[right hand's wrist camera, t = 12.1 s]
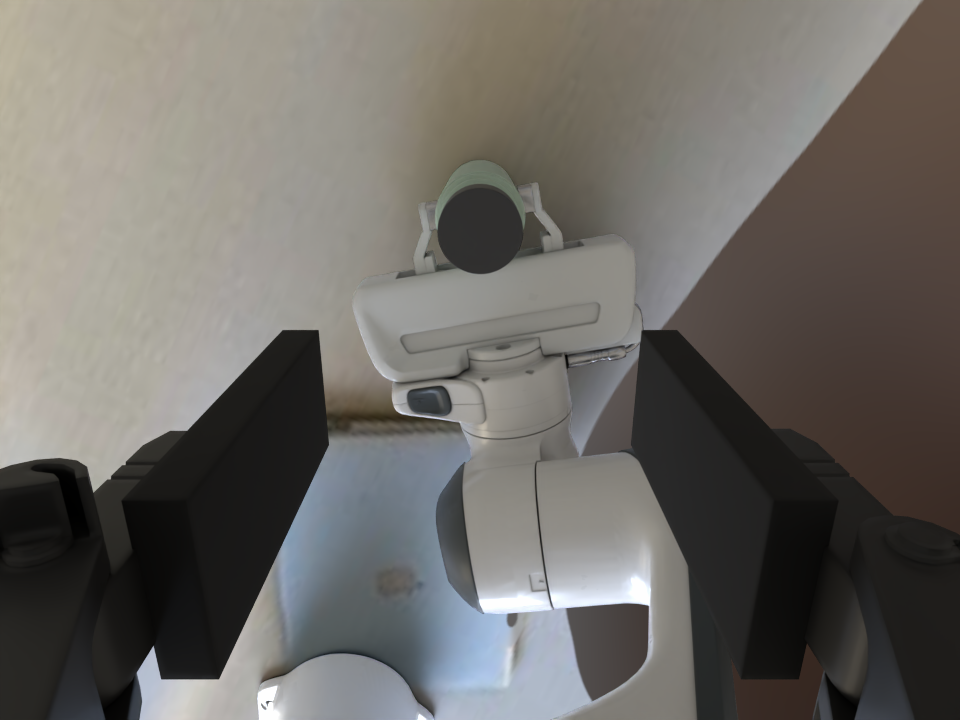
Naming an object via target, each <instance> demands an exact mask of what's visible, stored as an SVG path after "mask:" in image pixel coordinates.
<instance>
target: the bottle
mask: <svg viewBox="0 0 960 720" xmlns="http://www.w3.org/2000/svg"><path fill="white" fill-rule="evenodd" d="M473 184H488V185H492V186H495V187H497V188H499V189H501V190H502V191H504V192H505V193H506V194H507V195H508V196H509V197H510V198H511V199H512V200H513V202H514V203H515V205H516V207H517V209H518V212H519V214H520V216H521V220H522V224H523V230H524V226H525V208H524V204H523V201H522V198H521V196H520V194H519V192H518V191H517V189H516V187H515V185H514V183H513V182H512V180H511V178H510V176H509V175H508V174H507V172H506V171H505V170H504V169H503V168H502V167H500V166H499V165H497V164H495V163H493V162H491V161H487V160H474V161H470V162H467V163H465V164H463V165H461V166H460V167H459V168H457V169H456V170H455V171H454V173H453V174H452V175H451V177H450V178H449V180H448V182H447V184H446V186H445V188H444V189H443V191H442V193H441V195H440V197H439V199H438V202H437V205H436V210H435V223H436V228H437V229H438V222H439V218H440V215H441V213H442V210H443V208H444V206H445V204H446V202H447V201H448V200H449V198H450V197H451V196H452V195H453V194H454V193H455V192H457V191H458V190H460V189H461V188H464V187H466V186H469V185H473Z"/></svg>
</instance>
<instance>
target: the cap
mask: <svg viewBox="0 0 960 720" xmlns="http://www.w3.org/2000/svg"><path fill="white" fill-rule="evenodd" d="M437 233H438V241H439V244H440V247H441V249H442V252H443V253H444V255H445V256H446V258H447V259H448V260H449V261H450V262H451V263H452V264H453V265H454V266H456V267H457V268H459V269H461V270H463V271H465V272H468V273H472V274H488V273H492V272H495V271H498V270H500V269H502V268H503V267H505V266H506V265H507V264H509V263H510V262H511V261H512V260H513V258H514V257H515V256H516V254H517V252H518V251H519V248H520V246H521V243H522V238H523V224H522V220H521V216H520V214H519V212H518V209H517V207H516V205H515V203H514V202H513V200H512V199H511V198H510V197H509V196H508V195H507V194H506V193H505V192H504V191H502V190H501V189H499V188H497V187H495V186H492V185H488V184H473V185H469V186H466V187H464V188H461V189H460V190H458V191H457V192H455V193H454V194H453V195H452V196H451V197H450V198H449V200H448V201H447V202H446V204H445V206H444V208H443V210H442V213H441V215H440V218H439V222H438V229H437Z"/></svg>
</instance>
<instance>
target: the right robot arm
mask: <svg viewBox="0 0 960 720" xmlns="http://www.w3.org/2000/svg"><path fill="white" fill-rule="evenodd" d="M328 446H329V440H328V429H327V418H326V407H325V396H324V385H323V374H322V363H321V352H320V341H319V330H283V331H282V332H281V333H280V334H279V335H278V336H277V337H276V338H275V339H274V340H273V341H272V342H271V343H270V344H269V345H268V346H267V347H266V349H265V350H264V351H263V352H262V353H261V354H260V355H259V356H258V357H257V358H256V359H255V360H254V361H253V362H252V363H251V364H250V365H249V366H248V367H247V369H246V370H245V371H244V372H243V373H242V374H241V375H240V376H239V377H238V378H237V379H236V380H235V381H234V382H233V383H232V384H231V385H230V386H229V387H228V389H227V390H226V391H225V392H224V393H223V394H222V395H221V396H220V397H219V398H218V399H217V400H216V401H215V402H214V403H213V404H212V405H211V406H210V407H209V409H208V410H207V411H206V412H205V413H204V414H203V415H202V416H201V417H200V418H199V419H198V420H197V421H196V422H195V423H194V424H193V425H192V426H191V428H190V429H189V430H188V431H169V432H167V433H166V434H164V435H162V436H160V437H158V438H156V439H154V440H152V441H150V442H148V443H147V444H145V445H143V446H142V447H141V448H140V449H139V450H138V451H137V452H136V453H135V454H134V455H133V456H132V457H130V458H129V459H128V460H127V461H126V465H122V466H121V467H120V468H119V469H118V470H117V471H116V472H115V473H114V474H113V475H112V476H111V480H106V481H105V482H104V483H103V484H102V485H101V486H100V487H99V488H98V489H97V490H96V491H95V492H94V493H93V490H92V486H91V481H90V477H89V473H88V469H87V467H86V466H85V465H83V464H82V463H80V462H78V461H76V460H69V459H62V458H55V459H40V460H33V461H29V462H24V463H19V464H15V465H10V466H8V467H5V468H2V469H0V720H139V718H140V712H141V705H142V697H141V690H140V685H139V681H138V677H137V671H138V670H139V668H140V666H141V665H142V663H143V662H144V660H145V658H146V657H147V655H148V654H149V652H150V650H151V649H152V647H153V646H154V649H155V653H156V658H157V662H158V667H159V671H160V676H161V679H219V678H220V676H221V674H222V672H223V670H224V667H225V665H226V663H227V661H228V659H229V657H230V655H231V652H232V650H233V648H234V646H235V644H236V642H237V640H238V638H239V635H240V633H241V631H242V629H243V627H244V625H245V623H246V620H247V618H248V616H249V614H250V612H251V610H252V608H253V606H254V603H255V601H256V599H257V597H258V595H259V593H260V591H261V588H262V586H263V584H264V582H265V580H266V578H267V576H268V574H269V571H270V569H271V567H272V565H273V563H274V561H275V559H276V557H277V554H278V552H279V550H280V548H281V546H282V544H283V542H284V539H285V537H286V535H287V533H288V531H289V529H290V527H291V525H292V522H293V520H294V518H295V516H296V514H297V512H298V510H299V507H300V505H301V503H302V501H303V499H304V497H305V495H306V493H307V490H308V488H309V486H310V484H311V482H312V480H313V478H314V475H315V473H316V471H317V469H318V467H319V465H320V463H321V461H322V458H323V456H324V454H325V452H326V450H327V448H328ZM631 446H632V448H633V450H634V452H635V454H636V456H637V458H638V461H639V463H640V465H641V467H642V469H643V471H644V473H645V475H646V478H647V480H648V482H649V484H650V486H651V488H652V490H653V493H654V495H655V497H656V499H657V501H658V503H659V505H660V507H661V510H662V512H663V514H664V516H665V518H666V520H667V522H668V525H669V527H670V529H671V531H672V533H673V535H674V537H675V539H676V542H677V544H678V546H679V548H680V550H681V552H682V554H683V557H684V559H685V561H686V563H687V565H688V567H689V569H690V571H691V574H692V576H693V578H694V580H695V582H696V584H697V586H698V588H699V591H700V593H701V595H702V597H703V599H704V601H705V603H706V606H707V608H708V610H709V612H710V614H711V616H712V618H713V620H714V623H715V625H716V627H717V629H718V631H719V633H720V635H721V638H722V640H723V642H724V644H725V646H726V648H727V650H728V652H729V655H730V657H731V659H732V661H733V663H734V665H735V667H736V669H737V671H738V674H739V676H740V678H741V679H799V676H800V671H801V667H802V662H803V658H804V653H805V649H806V645H807V644H808V645H809V647H810V649H811V650H812V652H813V653H814V655H815V656H816V658H817V660H818V661H819V663H820V664H821V666H822V668H823V669H824V673H823V677H822V681H821V685H820V689H819V693H818V697H817V702H816V706H815V710H814V714H813V718H812V720H960V535H959V534H957V533H955V532H953V531H950V530H948V529H946V528H943V527H941V526H938V525H936V524H934V523H931V522H927V521H923V520H919V519H915V518H911V517H904V516H893V515H892V514H891V513H890V512H889V511H888V510H887V509H886V508H885V507H884V506H883V505H882V504H881V503H880V502H879V501H878V500H877V499H876V498H875V497H873V496H872V495H871V494H870V493H869V492H868V491H867V490H866V489H865V488H864V487H863V486H862V485H861V484H860V483H859V482H858V481H857V480H856V479H855V478H854V477H850V476H849V473H848V472H847V471H846V470H845V469H844V468H843V467H842V466H841V465H840V464H839V463H835V459H834V458H832V457H831V456H830V455H829V454H828V453H827V452H826V451H825V450H824V449H823V448H822V447H821V446H820V445H819V444H818V443H816V442H814V441H812V440H811V439H809V438H807V437H805V436H803V435H801V434H799V433H797V432H795V431H793V430H791V429H770V428H769V426H768V425H767V424H766V423H765V422H764V421H763V420H762V419H761V418H760V417H759V416H758V415H757V414H756V413H755V412H754V411H753V410H752V409H751V408H750V406H749V405H748V404H747V403H746V402H745V401H744V400H743V399H742V398H741V397H740V396H739V395H738V394H737V393H736V392H735V391H734V390H733V389H732V388H731V386H730V385H729V384H728V383H727V382H726V381H725V380H724V379H723V378H722V377H721V376H720V375H719V374H718V373H717V372H716V371H715V370H714V369H713V367H712V366H711V365H710V364H709V363H708V362H707V361H706V360H705V359H704V358H703V357H702V356H701V355H700V354H699V353H698V352H697V351H696V350H695V349H694V347H693V346H692V345H691V344H690V343H689V342H688V341H687V340H686V339H685V338H684V337H683V336H682V335H681V334H680V333H679V332H678V331H677V330H641V341H640V352H639V363H638V374H637V385H636V396H635V407H634V418H633V429H632V440H631Z"/></svg>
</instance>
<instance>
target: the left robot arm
mask: <svg viewBox="0 0 960 720" xmlns="http://www.w3.org/2000/svg"><path fill="white" fill-rule="evenodd" d="M516 187H517V191H518V192H519V194H520V196H521V198H522V201H523V204H524V208H525V213H529V212H533V213H534V214H535V215H536V217H537V218H538V219H539V221H540V222H541V223H542V224H543V226H544V227H545V228H546V229H547V231H548V232H547V231H546V230H545V231H541V232H540V239H541V246H540V247H535V248H529V249H523V250H519V251H518V252H517V254H516V256H515V257H514V258H513V260H512V261H511V262H510V263H509V264H507V265H506V266H505V267H503V268H502V269H500V270H498V271H495V272H492V273H488V274H472V273H468V272H465V271H463V270H461V269H459V268H457V267H456V266H454V265H453V264H452V263H451V262H450V263H444V264H438V265H437V262H436V258H435V253H434V251H428V252H427V253H426V250H427V247H428V244H429V241H430V238H431V234H432V231H433V230H435V229H437V228H436V223H435V210H436V205H437V202H438V200H436V201H430V202H424V203H419V205H418V207H419V214H420V219H421V224H422V229H423V230H422V232H421V235H420V238H419V241H418V244H417V247H416V250H415V253H414V256H413V263H414V268H415V269H410V270H405V271H399V272H393V273H388V274H382V275H376V276H371V277H367V278H365V279H363V281H362V282H361V283H360V284H359V285H358V287H357V289H356V290H355V292H354V294H353V297H352V306H353V310H354V314H355V318H356V321H357V324H358V327H359V330H360V333H361V336H362V339H363V341H364V344H365V347H366V349H367V351H368V354H369V356H370V358H371V360H372V362H373V364H374V366H375V368H376V369H377V370H378V372H379V373H380V374H381V375H382V376H384V377H385V378H387V379H388V380H390V381H393V385H392V401H393V405H394V408H395V410H396V411H397V412H399V413H401V414H404V415H410V416H419V417H427V418H435V419H442V420H448V421H454V422H459V423H460V426H461V428H462V430H463V432H464V434H465V436H466V438H467V440H468V443H469V446H470V451H471V459H470V461H468V462H466V463H465V462H464V463H463V464H462V465H461V466H460V467H459V468H458V470H457V471H456V472H455V474H454V475H453V477H452V478H451V480H450V481H449V482H448V484H447V485H446V487H445V488H444V490H443V491H442V493H441V494H440V496H439V499H438V502H437V508H436V525H437V532H438V538H439V543H440V548H441V552H442V557H443V561H444V565H445V570H446V574H447V578H448V581H449V583H450V584H451V585H452V587H453V588H454V589H455V590H456V592H457V593H458V594H459V595H460V596H461V597H462V598H463V599H464V600H465V601H466V602H467V603H468V604H469V605H470V606H472V607H473V608H474V609H476V610H477V611H479V612H481V613H482V614H484V613H494V614H504V613H518V612H532V611H545V610H554V608H555V609H557V608H570V607H582V606H595V605H607V604H620V603H637V604H644V605H649V639H648V654H647V658H646V660H645V662H644V664H643V666H642V667H641V668H640V669H639V671H638V672H637V673H636V674H635V675H634V676H632V677H631V678H630V679H629V680H628V681H626V682H625V683H624V684H622V685H621V686H619V687H618V688H616V689H615V690H613V691H611V692H609V693H608V694H606V695H604V696H602V697H600V698H598V699H596V700H595V701H593V702H591V703H589V704H586V705H584V706H582V707H580V708H578V709H576V710H574V711H571V712H569V713H566V714H564V715H561V716H559V717H556V718H554V719H551V720H738V715H737V711H736V710H737V707H736V700H735V691H734V682H733V673H732V664H731V657H730V655H729V652H728V650H727V648H726V646H725V644H724V642H723V640H722V638H721V635H720V633H719V631H718V629H717V627H716V625H715V623H714V620H713V618H712V616H711V614H710V612H709V610H708V608H707V606H706V603H705V601H704V599H703V597H702V595H701V593H700V591H699V588H698V586H697V584H696V582H695V580H694V578H693V576H692V574H691V571H690V569H689V567H688V565H687V563H686V561H685V559H684V557H683V554H682V552H681V550H680V548H679V546H678V544H677V542H676V539H675V537H674V535H673V533H672V531H671V529H670V527H669V525H668V522H667V520H666V518H665V516H664V514H663V512H662V510H661V507H660V505H659V503H658V501H657V499H656V497H655V495H654V493H653V490H652V488H651V486H650V484H649V482H648V480H647V478H646V475H645V473H644V471H643V469H642V467H641V465H640V463H639V461H638V458H637V456H636V454H635V452H634V450H633V448H631V449H626V450H621V451H619V452H618V453H611V454H602V455H594V456H585V457H579V453H578V450H577V447H576V445H575V443H574V441H573V439H572V436H571V431H570V424H571V419H572V402H571V395H570V388H569V381H568V373H567V369H568V368H570V367H576V366H582V365H588V364H591V363H595V362H598V361H602V360H603V361H605V360H609V361H612V360H618V359H621V358H624V357H626V353H628V352H630V351H632V350H633V349H635V348H636V347H637V346H638V345H639V343H640V341H641V330H643V320H642V312H641V310H640V308H639V306H638V305H637V304H636V303H635V297H636V258H635V252H634V250H633V248H632V246H631V245H630V244H629V243H628V242H627V241H626V240H624V239H623V238H621V237H620V236H618V235H616V234H608V235H603V236H597V237H591V238H586V239H580V240H574V241H569V242H563V238H562V232H561V231H560V229H559V228H558V227H557V225H556V224H555V223H554V222H553V220H552V219H551V218H550V217H549V215H548V214H547V213H546V211H545V210H544V209H543V208H542V204H541V197H540V190H539V185H538V183H537V182H534V183H528V184H523V185H518V186H516ZM629 344H631V345H630V346H628V347H626V348H625V346H624V345H629ZM565 352H566V355H565ZM258 710H259V720H434V717H433V715H432V714H431V713H430V712H429V711H428V710H427V709H426V708H424V707H423V706H422V705H421V704H419V703H418V702H417V700H416V699H415V697H414V695H413V693H412V691H411V689H410V687H409V686H408V684H407V683H406V681H405V680H404V679H403V678H402V677H401V676H400V675H399V674H398V673H397V672H396V671H394V670H393V669H392V668H390V667H389V666H387V665H385V664H384V663H382V662H380V661H377V660H375V659H372V658H369V657H366V656H361V655H356V654H346V653H339V654H328V655H323V656H319V657H316V658H313V659H310V660H308V661H306V662H304V663H302V664H301V665H299V666H298V667H296V668H295V669H294V670H292V671H291V672H290V673H288V674H286V675H284V676H280V677H276V678H272V679H269V680H267V681H264V682H263V683H262V684H261V685H260V687H259V691H258Z"/></svg>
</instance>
